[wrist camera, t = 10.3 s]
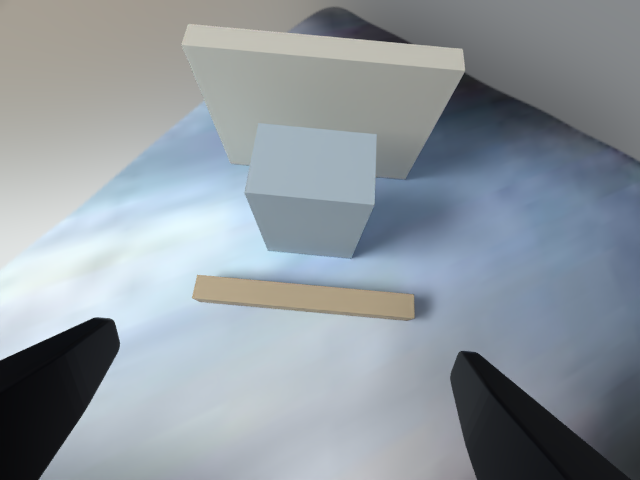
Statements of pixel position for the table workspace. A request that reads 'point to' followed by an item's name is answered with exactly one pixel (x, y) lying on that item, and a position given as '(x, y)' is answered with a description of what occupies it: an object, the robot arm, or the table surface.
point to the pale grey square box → (311, 188)
